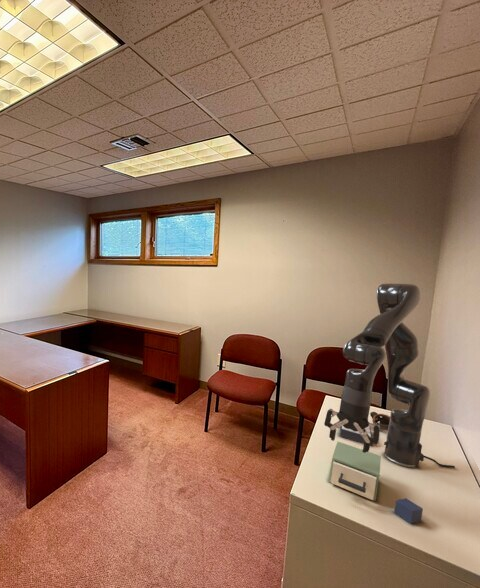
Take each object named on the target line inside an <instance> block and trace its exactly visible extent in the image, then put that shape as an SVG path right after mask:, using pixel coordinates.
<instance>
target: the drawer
mask: <svg viewBox="0 0 480 588" xmlns="http://www.w3.org/2000/svg"><path fill="white" fill-rule="evenodd" d="M376 479H377V477H374V475H372V474H370V473H367V472H364V471H361V470H359V469H356V468H353V467H351V466H348V465H345V464H343V463H340V462H333V469H332V477H331V484H333V485H335V486H337V487H340V488H342V489H345V490H347V491H350V492H352V493H354V494H356V495H359V496H362V497H364V498H365V499H366V498H367V499H368V500H371V501H374V500H373V499H374V492H375V486H376Z"/></svg>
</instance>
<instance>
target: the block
mask: <svg viewBox="0 0 480 588" xmlns="http://www.w3.org/2000/svg"><path fill="white" fill-rule="evenodd" d="M423 511H424V508H423V507H421V506H420V505H418V504H416V503H415V502H413V501H411V500H410V499H408V498H407V497H404V498H401V499H396V500H395V504H394V510H393V513H394V514H395V515H397V516H398V517H399V518H401V519H403V520H404V521H406V522H407V523H409V524H410V525H412V524H416V523H419V522H420V523H421V522H422V516H423Z"/></svg>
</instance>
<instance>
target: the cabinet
mask: <svg viewBox="0 0 480 588" xmlns="http://www.w3.org/2000/svg"><path fill="white" fill-rule="evenodd" d="M381 459H382V457H381V455H379V454H378V453H373V452H370V451H368V452H366V453H364V452H363V448H362V449H361V448H359V447H356V446H353V445H349V444H347V443H344V442H341V441H339V440H338V441H337V442H336V445H335V448H334V451H333V454H332V457H331V464H330V471H329V472H330V473H329V479H328V482H329V483H331V477H332V469H333V462H340V463H343V464H345V465H348V466H351V467H353V468H356V469H359V470H361V471H364V472H367V473H370V474H372V475H374V477H377V479H376V486H375V492H374V499H373V500H372V501H374V502H376V499H377V494H378V488H379V482H380V473H381ZM331 484H332V483H331Z"/></svg>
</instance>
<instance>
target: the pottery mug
mask: <svg viewBox="0 0 480 588" xmlns="http://www.w3.org/2000/svg"><path fill="white" fill-rule="evenodd" d="M369 415H370V417H371V420H372V424H379V425H380V431H388V428H389V421H390V415H388V414H385V413H378V412H376V411H371V412H369Z"/></svg>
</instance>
